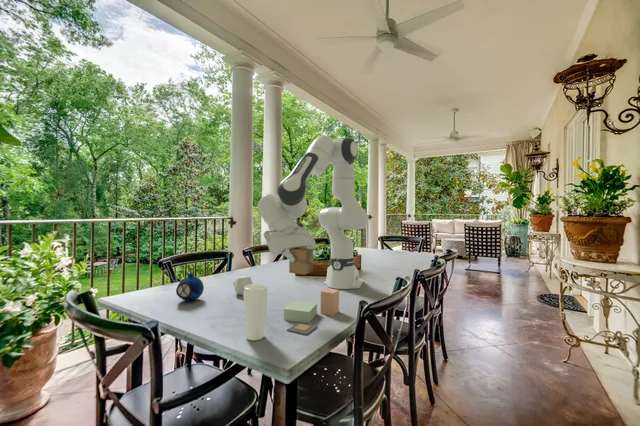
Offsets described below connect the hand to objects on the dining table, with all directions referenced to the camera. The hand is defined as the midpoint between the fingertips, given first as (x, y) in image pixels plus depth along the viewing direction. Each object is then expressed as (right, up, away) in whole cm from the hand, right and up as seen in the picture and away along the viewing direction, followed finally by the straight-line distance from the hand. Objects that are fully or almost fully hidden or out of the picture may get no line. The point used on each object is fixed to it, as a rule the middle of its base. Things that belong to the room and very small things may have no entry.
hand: (302, 259), depth 103 cm
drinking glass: (-13, -20, -17) cm, 29 cm away
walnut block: (-1, -4, 0) cm, 4 cm away
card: (+1, -20, -10) cm, 23 cm away
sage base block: (-1, -20, +1) cm, 20 cm away
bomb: (-47, -19, +16) cm, 53 cm away
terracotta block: (+10, -20, +5) cm, 23 cm away
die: (-28, -20, +27) cm, 43 cm away
